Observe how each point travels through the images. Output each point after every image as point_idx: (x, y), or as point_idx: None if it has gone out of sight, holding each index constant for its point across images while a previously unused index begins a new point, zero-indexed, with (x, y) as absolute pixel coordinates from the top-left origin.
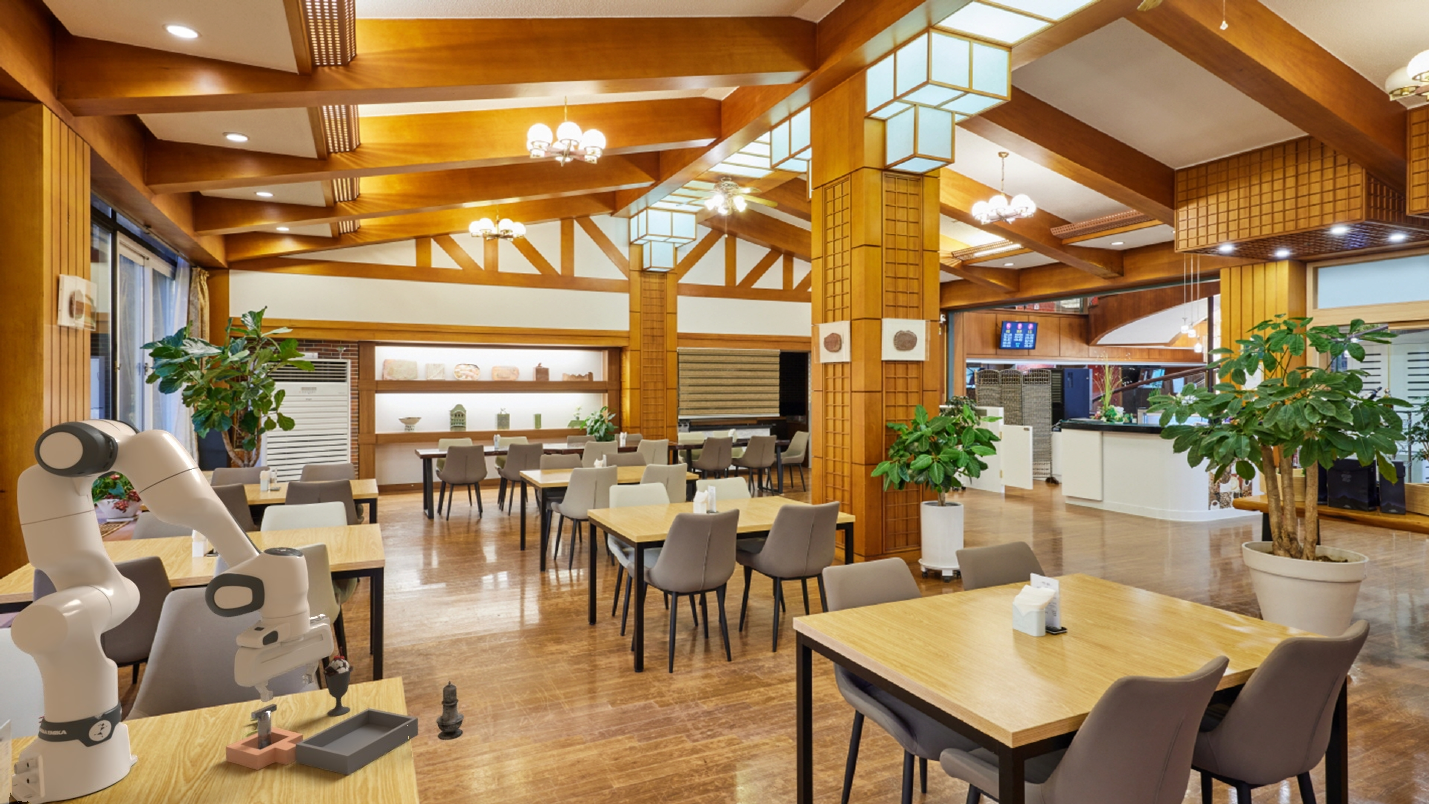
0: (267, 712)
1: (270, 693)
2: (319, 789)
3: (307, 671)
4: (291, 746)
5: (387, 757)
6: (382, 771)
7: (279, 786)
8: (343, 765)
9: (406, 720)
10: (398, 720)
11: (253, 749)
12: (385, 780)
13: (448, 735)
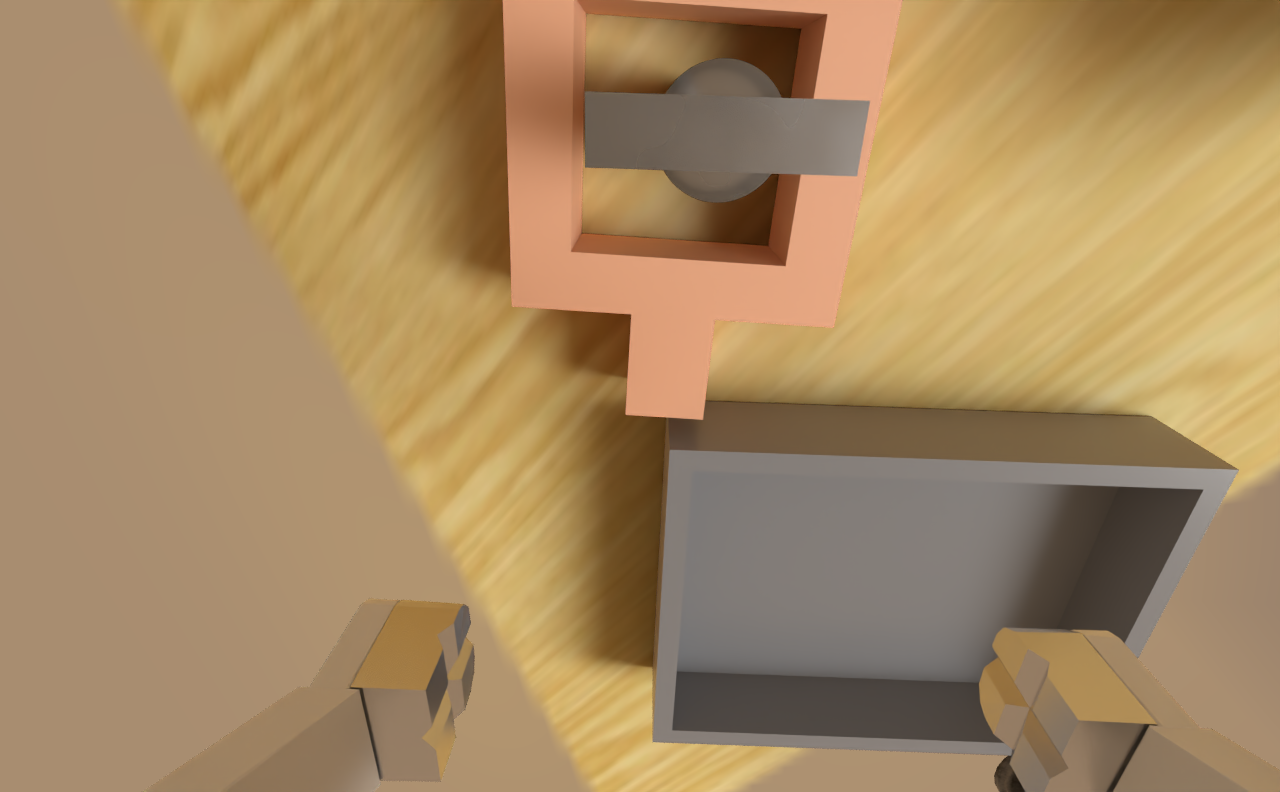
0: (710, 199)
1: (403, 765)
2: (532, 652)
3: (1193, 786)
4: (675, 399)
5: None
6: None
7: (476, 509)
8: (653, 681)
9: None
10: None
11: (557, 197)
12: (668, 779)
13: (1022, 787)
